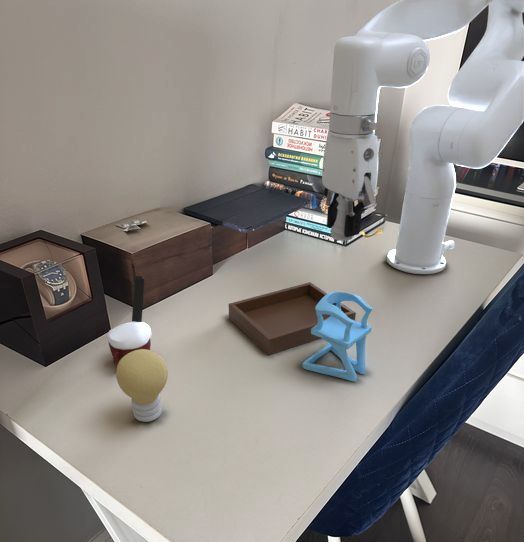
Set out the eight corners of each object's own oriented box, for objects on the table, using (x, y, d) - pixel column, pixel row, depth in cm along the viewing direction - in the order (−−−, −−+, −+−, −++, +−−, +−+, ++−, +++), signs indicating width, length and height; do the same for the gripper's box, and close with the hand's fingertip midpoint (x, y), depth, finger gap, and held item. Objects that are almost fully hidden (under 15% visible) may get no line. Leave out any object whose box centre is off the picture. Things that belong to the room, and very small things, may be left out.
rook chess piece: (355, 233, 96) (360, 191, 91) (352, 242, 92) (357, 198, 88) (332, 231, 97) (335, 189, 92) (328, 240, 93) (331, 196, 89)
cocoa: (122, 379, 75) (110, 308, 69) (97, 363, 79) (83, 294, 72) (170, 353, 81) (164, 285, 75) (145, 339, 85) (136, 273, 78)
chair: (346, 389, 74) (356, 318, 67) (300, 367, 79) (305, 298, 72) (373, 366, 79) (385, 298, 72) (329, 347, 83) (336, 280, 77)
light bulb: (114, 414, 69) (103, 353, 63) (154, 394, 73) (146, 334, 67) (141, 438, 65) (131, 375, 60) (181, 415, 69) (175, 354, 63)
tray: (309, 295, 99) (310, 281, 97) (354, 327, 89) (356, 312, 87) (228, 318, 91) (228, 303, 89) (268, 355, 81) (268, 339, 80)
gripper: (405, 130, 79) (389, 241, 90) (338, 114, 91) (331, 214, 101) (368, 136, 76) (356, 250, 86) (304, 118, 88) (300, 220, 98)
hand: (342, 229), depth 94 cm, fingers closed on rook chess piece, 4 cm apart
